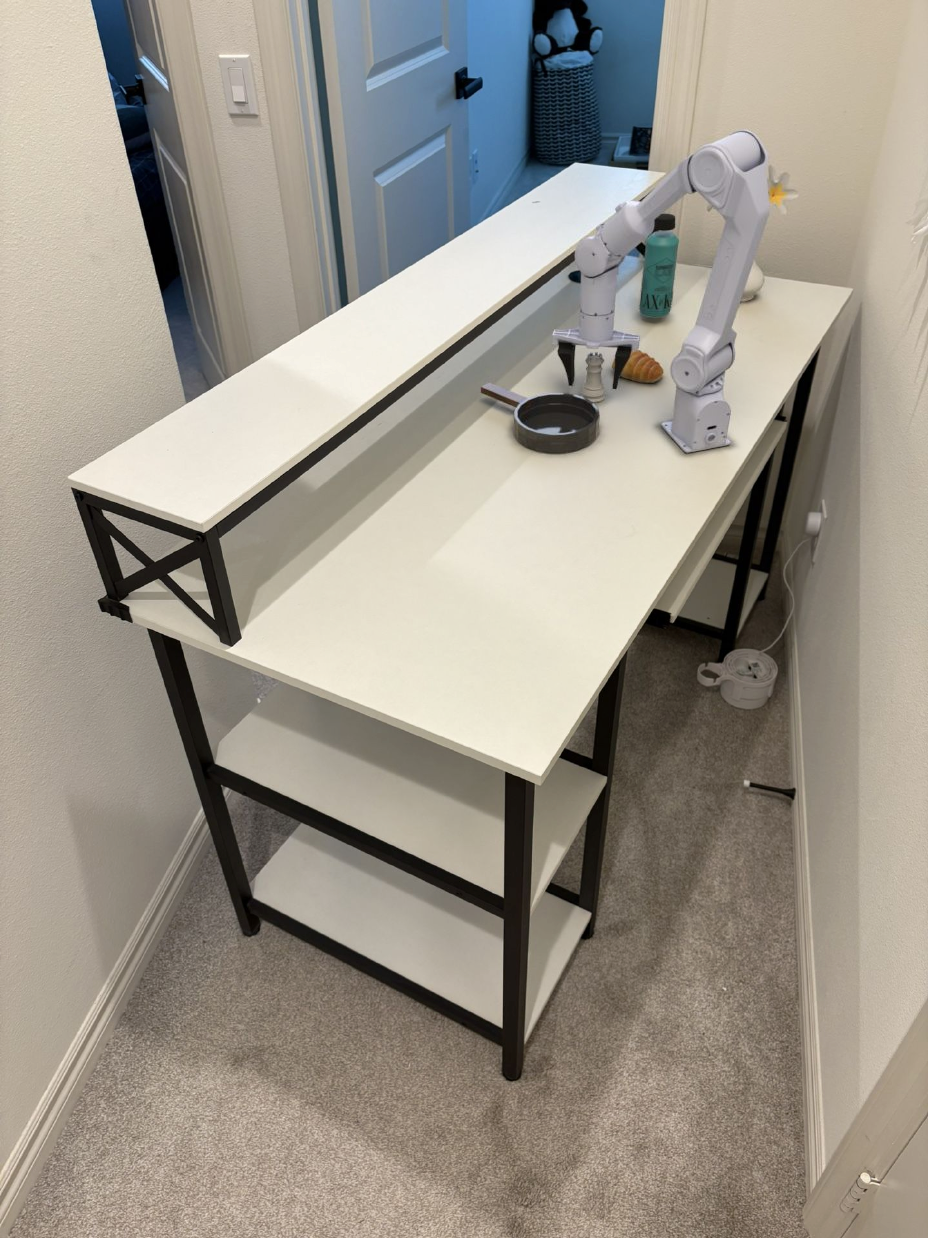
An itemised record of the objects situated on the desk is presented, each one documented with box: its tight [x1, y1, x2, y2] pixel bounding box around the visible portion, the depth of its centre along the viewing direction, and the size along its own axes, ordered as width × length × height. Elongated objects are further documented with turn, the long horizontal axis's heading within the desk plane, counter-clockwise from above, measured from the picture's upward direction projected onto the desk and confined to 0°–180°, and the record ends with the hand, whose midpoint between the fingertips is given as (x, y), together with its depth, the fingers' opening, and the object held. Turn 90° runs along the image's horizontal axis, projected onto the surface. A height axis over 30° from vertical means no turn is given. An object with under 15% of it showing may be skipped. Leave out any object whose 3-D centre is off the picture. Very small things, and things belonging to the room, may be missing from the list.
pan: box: [513, 392, 601, 454], centre depth 148 cm, size 14×14×4 cm
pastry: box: [611, 349, 665, 384], centre depth 161 cm, size 9×7×4 cm
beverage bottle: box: [638, 213, 680, 318], centre depth 174 cm, size 6×7×20 cm
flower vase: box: [706, 164, 800, 303], centre depth 179 cm, size 13×18×25 cm
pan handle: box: [480, 382, 530, 409], centre depth 153 cm, size 10×2×1 cm, turn 45°
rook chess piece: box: [579, 351, 606, 404], centre depth 154 cm, size 4×4×8 cm
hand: (593, 385), depth 155 cm, fingers open, 7 cm apart
